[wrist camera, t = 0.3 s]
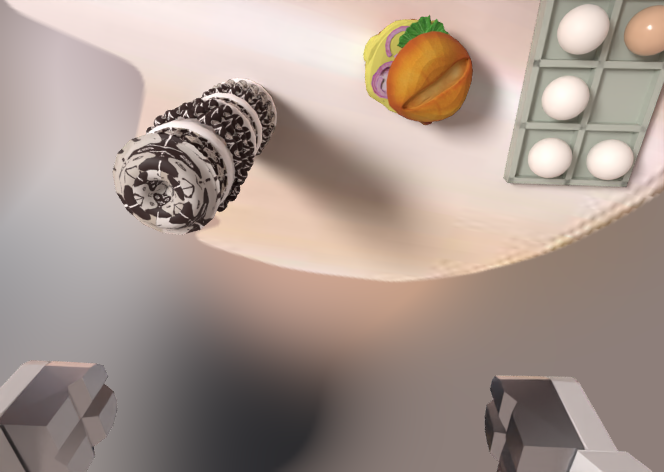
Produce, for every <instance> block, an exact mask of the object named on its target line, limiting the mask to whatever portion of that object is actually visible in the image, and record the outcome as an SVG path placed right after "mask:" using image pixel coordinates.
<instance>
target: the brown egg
mask: <svg viewBox="0 0 664 472" xmlns="http://www.w3.org/2000/svg"><path fill="white" fill-rule="evenodd" d="M624 42H625V45H626V47H627V48H628V49H629V50H630V51H631V52H632V53H634V54H637V55H640V56H650V55H654V54H657V53H660V52H662V51H664V6H663V5H655V6H650V7H647V8H645V9H643V10H641V11H639V12H638V13H637V14H635V15H634V16H633V17H632V18H631V20H630V21H629V22H628V24H627V26H626V28H625V31H624Z"/></svg>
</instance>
